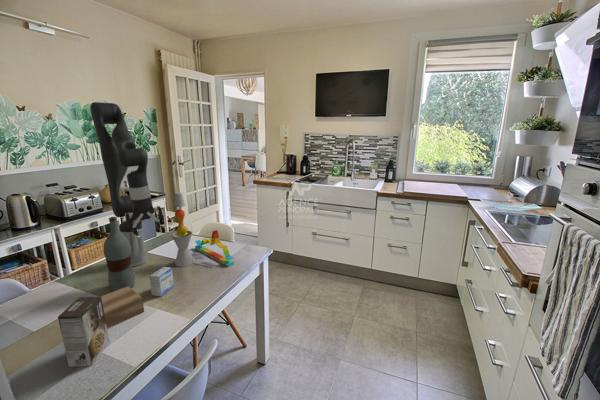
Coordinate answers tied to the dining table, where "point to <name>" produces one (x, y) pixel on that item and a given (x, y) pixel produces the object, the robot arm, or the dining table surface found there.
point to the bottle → (118, 258)
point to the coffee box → (84, 331)
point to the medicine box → (161, 281)
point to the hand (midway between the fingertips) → (147, 232)
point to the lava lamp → (181, 235)
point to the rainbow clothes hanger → (211, 253)
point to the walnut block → (121, 306)
